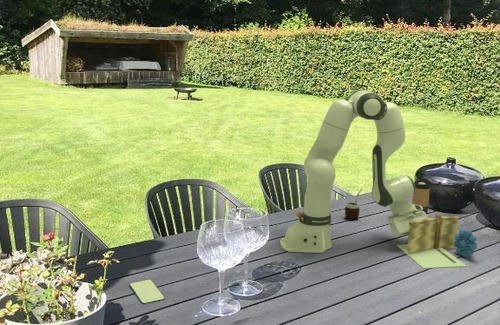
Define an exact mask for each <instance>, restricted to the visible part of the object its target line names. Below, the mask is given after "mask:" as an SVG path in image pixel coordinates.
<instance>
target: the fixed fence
mask: <svg viewBox="0 0 500 325" xmlns="http://www.w3.org/2000/svg"><path fill="white" fill-rule="evenodd" d="M434 218H437V221H436V229H435V239H434V249H438V248H443V249H444V250H446V249H447V250H448V249H449V250H450V249H456V247H455V246H454V245H453V244H454V242H455V241H457V240H455V235H456V234H458V227H459V220H460V217H459V216H457V215H454V216H452V215H450V216H442V215H441V214H435V215H434Z"/></svg>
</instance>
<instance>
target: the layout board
mask: <svg viewBox="0 0 500 325" xmlns="http://www.w3.org/2000/svg"><path fill="white" fill-rule="evenodd" d="M396 246H397V247H398V249H400V250H401V251H402V252H403V253H404V254H406V255H407V256H408V257H409V258H410V259H411V260H412V261H414V263H417V265H419V266H420V267H421V268H422V269H423V270H425V269H426V270H427V269H445V268H449V269H450V268H466V267H467V265H466V264H465V263H463V262H462V261H461V260H460V259H458V258H457V257H455V256H454V255H453V254H451V253H450V252H448V251H447V250H446V249H443V248H438V249H434V248H430V249H425V250H421V251H416V252H412V253H408V252H407V247H408V244H397V245H396Z"/></svg>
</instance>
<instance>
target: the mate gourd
mask: <svg viewBox="0 0 500 325" xmlns="http://www.w3.org/2000/svg"><path fill="white" fill-rule="evenodd" d="M362 190H363V189H362V188H361V189H360V190H359V191H358V193H357V194H356V198H355V202H348V203H346V204H345V208H344V215H345V220H350V221H349V222H352V221H354V220H355V221H359V215H360V205H359V204H358V203H357V202H358V198H359V196H360V193H361V192H362Z"/></svg>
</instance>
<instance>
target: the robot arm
mask: <svg viewBox="0 0 500 325" xmlns="http://www.w3.org/2000/svg"><path fill="white" fill-rule="evenodd" d="M358 117H359V118H361V119H364V120H368V121H369V120H370V121H374V123H375V128H376V136H377V137H376V138H377V139H376V141H375V142H376V143H375V145H374V146H373V148H372V154H371V155H372V156H371V162H372V163H371V164H372V187H371V188H372V189H371V197H372V200H373V202H374V203H376V204H377V205H379V206H381V207H385V208H386V207H388V206H389V209H390V212H391V213H392V215H389V216H388V218H387V222H388V224H389V227H390V229H391V231H392V234H393V235H394V236H395V237H397V238H398V237H401V236H405V235H409V222H412V221H417V220H423V219H428V218H429V216H428V213H427V214H426V213H425V212H424V211H421V210H423V208H422V206H420V205H415V204H412V203H411V202H410V201H409V200H408V198H409V197H411V196H413V194H414V192H415V188H416V187H415V183H414V182H415V180H413V179H412V177H411V176H408V175H407V174H403V175H399V176H397V177H391V176H390V177H389V176H388V177H387V176H386V175H387V173H386V172H387V171H386V164H387V162H388V159H389V158H390V157H391V156H392V155H393V154H394V153H395V152H396V151H398V150H399V149H400V148H401V147H402V146H403V145H404V143H405V141H406V130H405V125H404V121H403V116H402V113H401V110H400V108H399V106H398V104H396V103H395V102H392V101H391V102H390V101H388V102H387V101H386V102H385V101H384V100H383V99H382V98H381V96H379V95H378V94H377V93H374V92H373V91H370V90H366V89H358V90H356V91H354V92H353V93H352V94H350V96H348V97H347V98H346V99H336V100H334V101H333V102H332V103H331V105H330V106H329V109H328V110H327V111H326V114H325V116H324V119H323V121H322V124H321V126H320V129H319V132H318V134H317V137H316V139H315V141H314V143H313V145H312V146H311V148H310V150H309V152H308V154H307V156H306V158H305V160H304V162H303V171H304V173H305V174H306V176H307V181H306V182H307V183H306V190H305V194H304V203H303V204H304V208H303V209H304V210H303V212H300V211H297V212H296V217H297V218H299V220H298V221H297V222H296V223H294V224H293V225H291V226H289V227H288V228H287V229H286V232H285V237H283V238H280V239H279V245H280V247H281V248H282V249H283V250H284V251H286V252H290V253H312V254H313V253H316V254H318V253H319V254H322V253H325V252H326V251H328V250H330V249H331V248H332V247H333V243H332V242H333V241H332V238H331V236H332V235H331V226H332V224H331V223H332V214H331V204H332V203H331V201H332V200H331V199H332V193H333V190H334V182H335V180H336V168H335V166H334V165H333V163H334V161H335V158H337V155H338V153H340V151H341V150H342V148H343V146H344V143H345V141H346V138H347V136H348V133H349V131H350V128H351V124H352V123H353V121H354V120H355V119H356V118H358Z"/></svg>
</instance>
